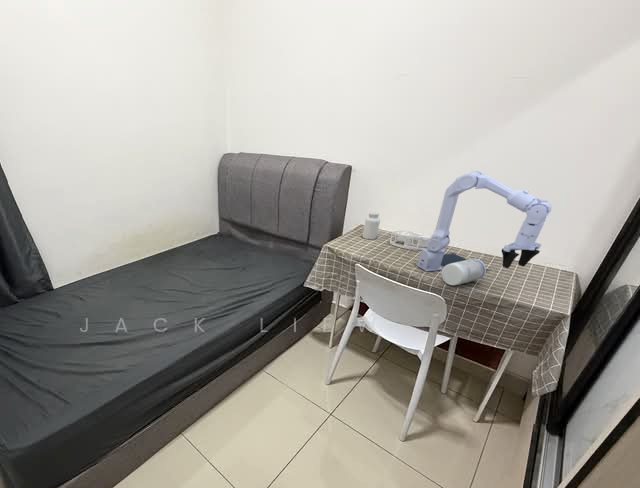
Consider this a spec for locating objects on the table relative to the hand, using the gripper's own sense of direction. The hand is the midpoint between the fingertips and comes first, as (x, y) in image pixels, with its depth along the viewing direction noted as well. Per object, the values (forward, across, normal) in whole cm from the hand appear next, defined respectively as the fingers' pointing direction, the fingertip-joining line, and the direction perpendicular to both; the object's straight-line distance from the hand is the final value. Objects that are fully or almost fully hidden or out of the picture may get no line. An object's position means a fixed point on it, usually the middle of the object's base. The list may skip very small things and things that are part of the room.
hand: (513, 266), depth 121 cm
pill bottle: (+11, -20, +68) cm, 72 cm away
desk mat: (+10, +1, +26) cm, 28 cm away
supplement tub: (+6, -5, +10) cm, 13 cm away
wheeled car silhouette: (+11, -6, +50) cm, 52 cm away
